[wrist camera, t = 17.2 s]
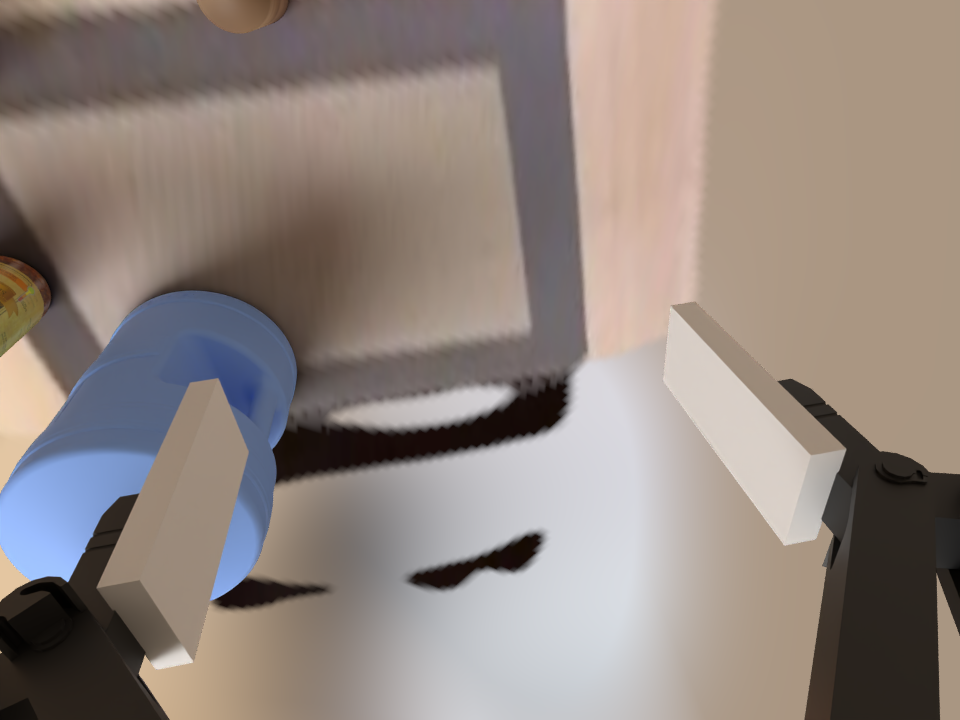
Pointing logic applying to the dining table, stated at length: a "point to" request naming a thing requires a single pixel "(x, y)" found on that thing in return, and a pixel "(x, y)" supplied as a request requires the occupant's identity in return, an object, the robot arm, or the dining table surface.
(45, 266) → the dining table surface
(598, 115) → the dining table surface
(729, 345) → the robot arm
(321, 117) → the dining table surface
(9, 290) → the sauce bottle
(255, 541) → the water jug
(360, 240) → the dining table surface
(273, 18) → the short peg
